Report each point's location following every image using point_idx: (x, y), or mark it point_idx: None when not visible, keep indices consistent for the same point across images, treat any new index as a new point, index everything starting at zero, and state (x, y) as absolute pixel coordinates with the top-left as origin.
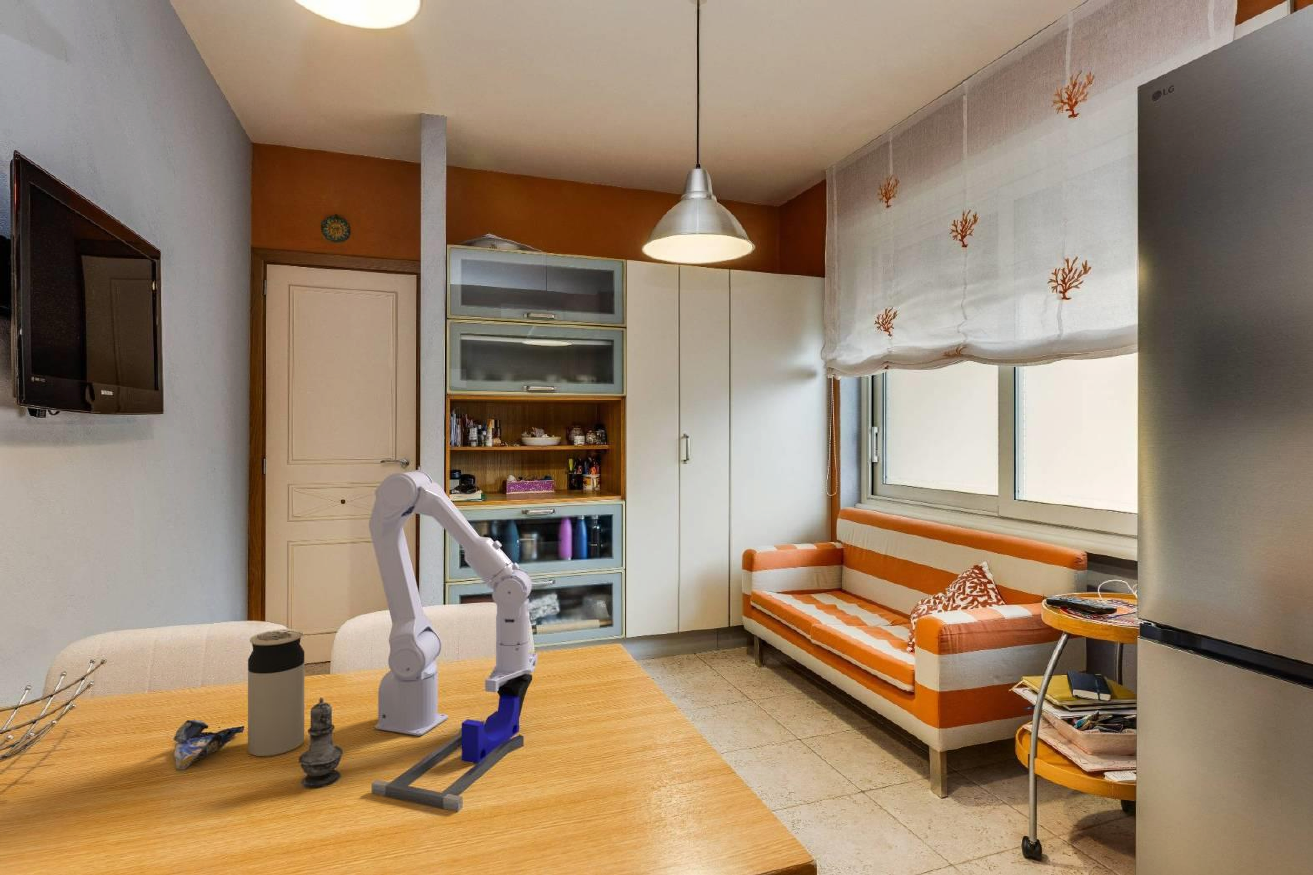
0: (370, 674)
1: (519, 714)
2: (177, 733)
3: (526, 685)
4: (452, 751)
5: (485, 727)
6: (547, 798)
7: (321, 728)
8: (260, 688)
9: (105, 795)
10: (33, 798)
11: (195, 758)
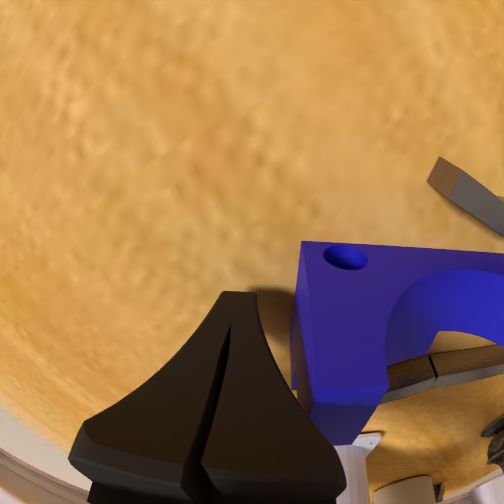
0: None
1: (230, 300)
2: None
3: (173, 426)
4: (470, 350)
5: (394, 356)
6: None
7: None
8: None
9: (472, 476)
10: (463, 486)
11: (441, 490)
